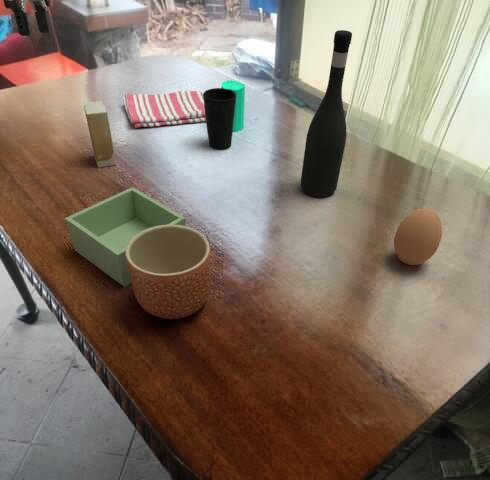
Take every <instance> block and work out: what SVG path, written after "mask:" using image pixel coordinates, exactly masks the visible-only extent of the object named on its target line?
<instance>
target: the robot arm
mask: <svg viewBox="0 0 490 480" xmlns="http://www.w3.org/2000/svg"><path fill="white" fill-rule="evenodd" d="M27 2H29V3H30V4H31V6H32V8H33V10H34V16H35V19H36V24H37V27H38V31H39V33H41V34H48V33H50V32H51V27H50V22H49V17H48V13H47V11H48V8H50V7H51V1H50V0H3V5H4V8H5V9H7V10H8V9H9V10H10V11H11V13H13V15H14V19H15V23H16V26H17V27H16V28H17V30H18V31H17V32H18V34H19V35H20V36H22V37H30V36H32V30H31V26H30V21H29V17H28V13H27Z"/></svg>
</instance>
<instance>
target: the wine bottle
mask: <svg viewBox="0 0 490 480" xmlns="http://www.w3.org/2000/svg"><path fill="white" fill-rule="evenodd" d="M352 38H353V33H352V32H351V31H350V30H346V29H340V30H336V31H335V32H334V36H333V48H332V56H331V62H330V70H329V75H328V82H327V87H326V91H325V93H324V96H323V98H322V100H321V102H320V104H319V106H318V108H317V110H316V111H315V113H314V115H313V117H312V119H311V121H310V124H309V126H308V130H307V132H306V138H305V145H304V152H303V153H304V154H303V161H302V167H301V168H302V169H301V176H300V188H301V189H302V191H303V192H304V193H306V194H307V195H309V196H312V197H318V198H320V197H321V198H323V197H328V196H331V195H332V194H334V193H335V191H336V190H337V187H338V183H339V177H340V174H341V173H340V172H341V168H342V162H343V159H344V158H343V157H344V152H345V148H346V142H347V122H346V121H347V120H346V115H345V110H344V105H343V103H344V102H343V83H344V78H345V72H346V66H347V61H348V56H349V49H350V46H351V44H352V40H353V39H352Z"/></svg>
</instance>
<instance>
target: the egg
mask: <svg viewBox="0 0 490 480" xmlns="http://www.w3.org/2000/svg"><path fill="white" fill-rule="evenodd" d="M395 231H396V232H395V234H394V237H393V248H394V252H395V254H396V256H397V258H398V259H399V260H400V261H401V262H402V263H403V264H405V265H409V266H418V265H420V264H423V263H425V262H426V261H428V260H429V259H431V258H432V257H433V256H434V255H435V253H436V252H437V250H438V248H439V247H440V244H441V241H442V237H443V234H442V233H443V228H442V222H441V219H440V217H439V215H438V214H437V212H436V211H435V210H433V209H431V208H428V207H421V208H418V209H414V210H413V211H411V212H410V213H409V214H407V216H406V217H405V218H404V219H403V220H402V221H401V222H400V224H399V226H398V227H397V229H396V230H395Z"/></svg>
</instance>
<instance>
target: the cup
mask: <svg viewBox="0 0 490 480" xmlns="http://www.w3.org/2000/svg"><path fill="white" fill-rule="evenodd" d="M202 93H203V99H204V107H205V116H206V121H205V124H206V132H207V133H206V134H207V141H208V147H209V148H210V149H212V150H216V151H225V150H229V149H230V148H231V147H232V142H233V133H234V132H233V123H234V113H235V103H236V93H235V92H234V91H232V90H229V89H224V88H222V87H215V88H208V89H206V90H204V91H203V92H202Z"/></svg>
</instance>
